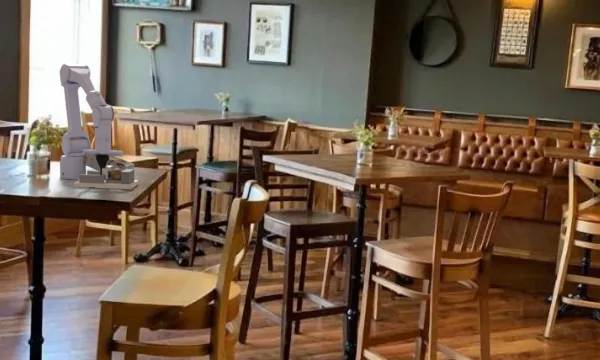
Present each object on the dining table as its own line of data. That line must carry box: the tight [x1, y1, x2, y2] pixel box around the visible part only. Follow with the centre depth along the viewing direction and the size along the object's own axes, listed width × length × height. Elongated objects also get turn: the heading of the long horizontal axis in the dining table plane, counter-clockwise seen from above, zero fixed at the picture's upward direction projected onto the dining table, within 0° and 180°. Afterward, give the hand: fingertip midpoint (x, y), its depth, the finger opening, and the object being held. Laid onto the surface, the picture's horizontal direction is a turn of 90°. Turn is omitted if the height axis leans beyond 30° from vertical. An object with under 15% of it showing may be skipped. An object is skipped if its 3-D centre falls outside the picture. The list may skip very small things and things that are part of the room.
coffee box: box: [85, 153, 135, 171], centre depth 297 cm, size 9×6×16 cm
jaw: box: [102, 165, 113, 179], centre depth 282 cm, size 2×8×4 cm, turn 179°
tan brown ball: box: [110, 168, 122, 180], centre depth 282 cm, size 5×5×5 cm
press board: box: [72, 168, 139, 190], centre depth 282 cm, size 21×12×6 cm, turn 89°
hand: (102, 174), depth 282 cm, fingers closed
